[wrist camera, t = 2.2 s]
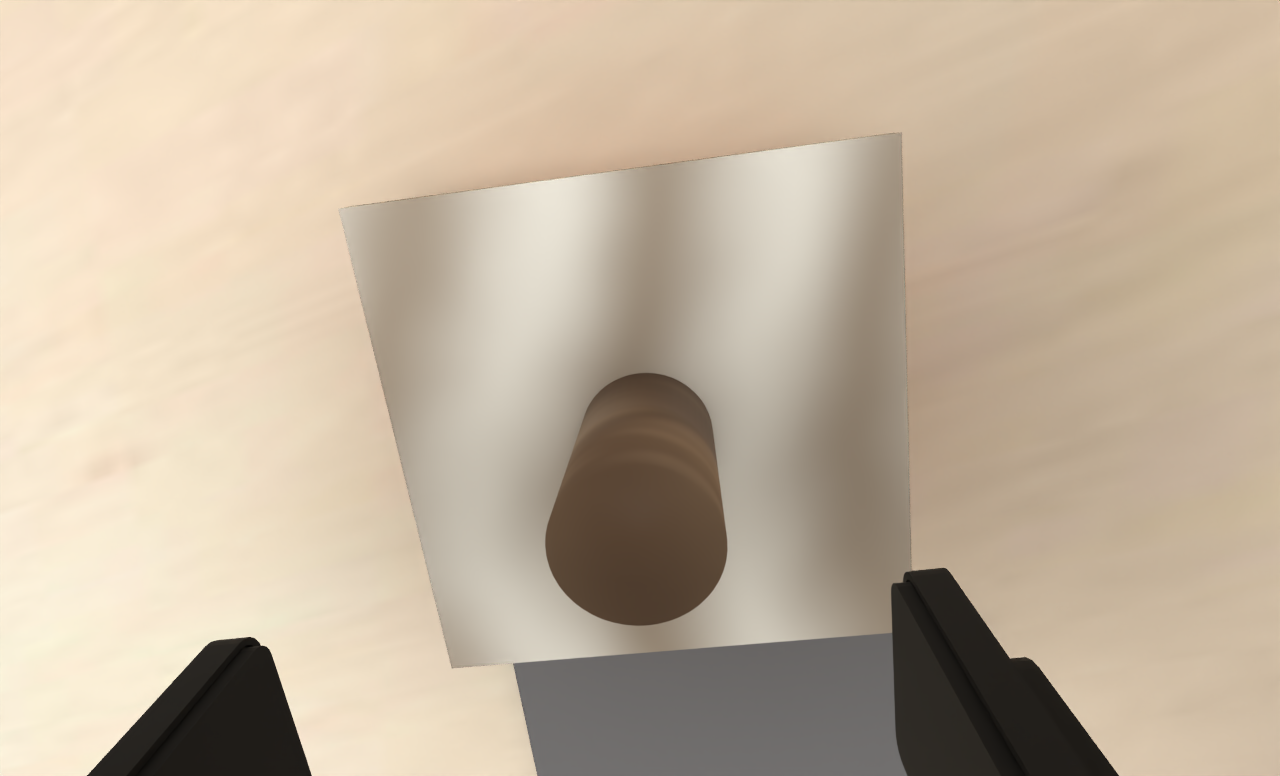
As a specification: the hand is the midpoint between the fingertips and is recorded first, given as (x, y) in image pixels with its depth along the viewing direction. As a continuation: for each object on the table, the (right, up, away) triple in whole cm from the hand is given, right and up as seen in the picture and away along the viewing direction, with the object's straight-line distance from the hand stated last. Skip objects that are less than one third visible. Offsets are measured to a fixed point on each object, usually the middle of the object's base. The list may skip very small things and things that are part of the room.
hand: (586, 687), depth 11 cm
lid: (+1, +3, +10) cm, 11 cm away
